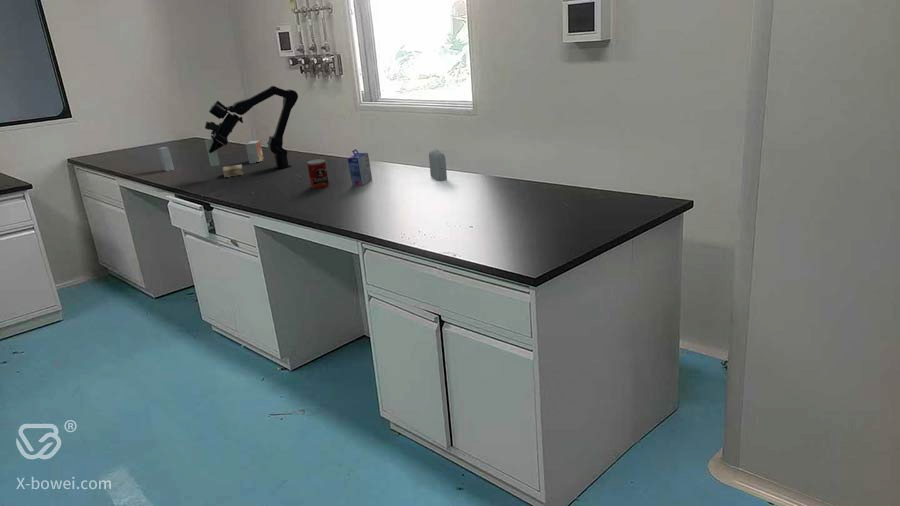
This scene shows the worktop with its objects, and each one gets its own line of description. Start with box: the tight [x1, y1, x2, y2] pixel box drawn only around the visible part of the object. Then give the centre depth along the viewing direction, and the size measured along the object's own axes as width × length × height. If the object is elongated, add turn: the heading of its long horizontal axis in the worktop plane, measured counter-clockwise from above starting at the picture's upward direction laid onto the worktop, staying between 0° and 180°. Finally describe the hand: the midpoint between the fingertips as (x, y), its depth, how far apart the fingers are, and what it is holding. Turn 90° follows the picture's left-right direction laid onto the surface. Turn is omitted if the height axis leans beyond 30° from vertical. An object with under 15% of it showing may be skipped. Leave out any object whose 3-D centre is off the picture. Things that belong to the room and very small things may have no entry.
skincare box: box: [157, 146, 175, 172], centre depth 334 cm, size 6×4×12 cm
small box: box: [245, 140, 264, 164], centre depth 336 cm, size 8×6×10 cm
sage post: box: [204, 138, 221, 167], centre depth 302 cm, size 4×5×12 cm
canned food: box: [307, 158, 329, 189], centre depth 272 cm, size 8×8×11 cm
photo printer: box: [428, 149, 448, 182], centre depth 266 cm, size 10×4×12 cm, turn 25°
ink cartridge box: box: [347, 149, 373, 187], centre depth 270 cm, size 10×6×14 cm, turn 161°
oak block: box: [222, 164, 245, 178], centre depth 310 cm, size 9×9×4 cm
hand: (209, 151), depth 301 cm, fingers closed on sage post, 5 cm apart
